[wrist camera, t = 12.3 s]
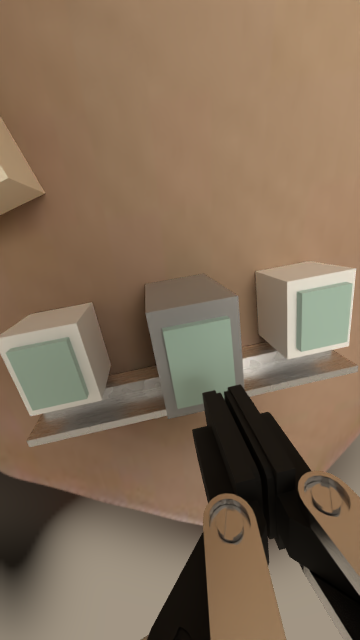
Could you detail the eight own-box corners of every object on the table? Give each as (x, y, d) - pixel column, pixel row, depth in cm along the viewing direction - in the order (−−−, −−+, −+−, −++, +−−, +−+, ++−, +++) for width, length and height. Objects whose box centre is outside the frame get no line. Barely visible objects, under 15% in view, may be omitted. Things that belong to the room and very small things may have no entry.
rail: (47, 388, 22) (21, 430, 17) (317, 331, 24) (359, 354, 19) (55, 406, 23) (31, 451, 18) (316, 349, 24) (356, 375, 20)
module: (145, 283, 20) (145, 316, 12) (203, 273, 20) (241, 298, 12) (160, 357, 22) (168, 425, 14) (212, 347, 23) (248, 406, 15)
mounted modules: (29, 314, 19) (-13, 343, 14) (309, 261, 21) (363, 269, 16) (55, 376, 22) (26, 422, 16) (307, 323, 23) (355, 349, 18)
